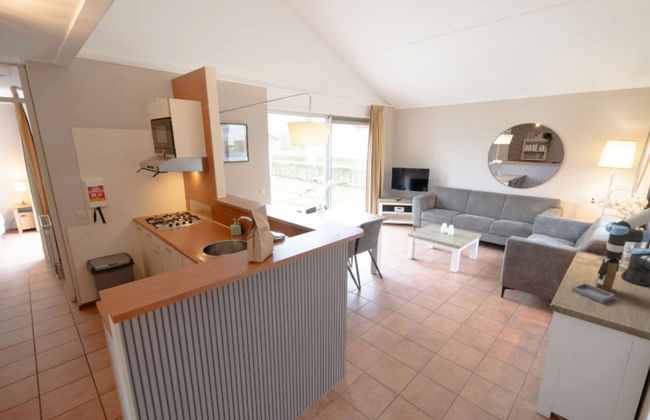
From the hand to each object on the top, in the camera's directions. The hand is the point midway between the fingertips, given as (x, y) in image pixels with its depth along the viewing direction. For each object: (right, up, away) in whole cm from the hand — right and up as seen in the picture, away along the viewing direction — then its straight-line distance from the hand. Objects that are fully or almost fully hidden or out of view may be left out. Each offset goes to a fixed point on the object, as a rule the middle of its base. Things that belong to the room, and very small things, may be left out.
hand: (605, 281), depth 189 cm
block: (0, -5, +1) cm, 5 cm away
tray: (-13, -7, -5) cm, 16 cm away
